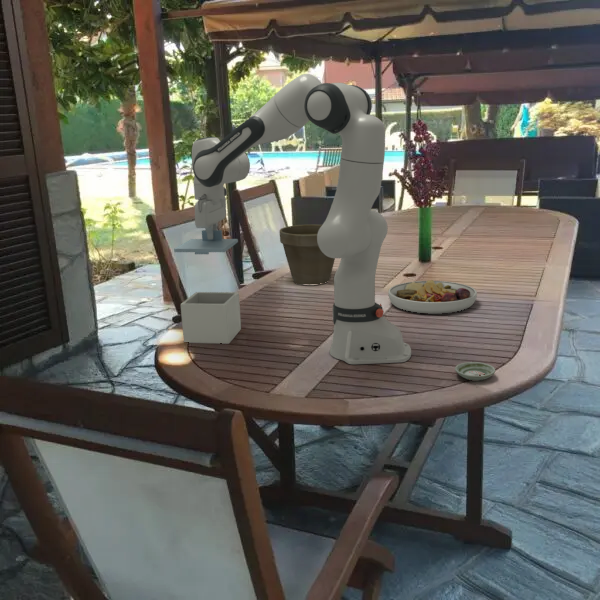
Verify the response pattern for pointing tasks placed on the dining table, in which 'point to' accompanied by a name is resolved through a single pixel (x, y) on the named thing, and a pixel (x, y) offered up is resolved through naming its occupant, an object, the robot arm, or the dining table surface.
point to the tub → (211, 317)
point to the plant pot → (305, 254)
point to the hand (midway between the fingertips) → (212, 238)
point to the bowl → (432, 296)
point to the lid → (207, 244)
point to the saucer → (475, 366)
